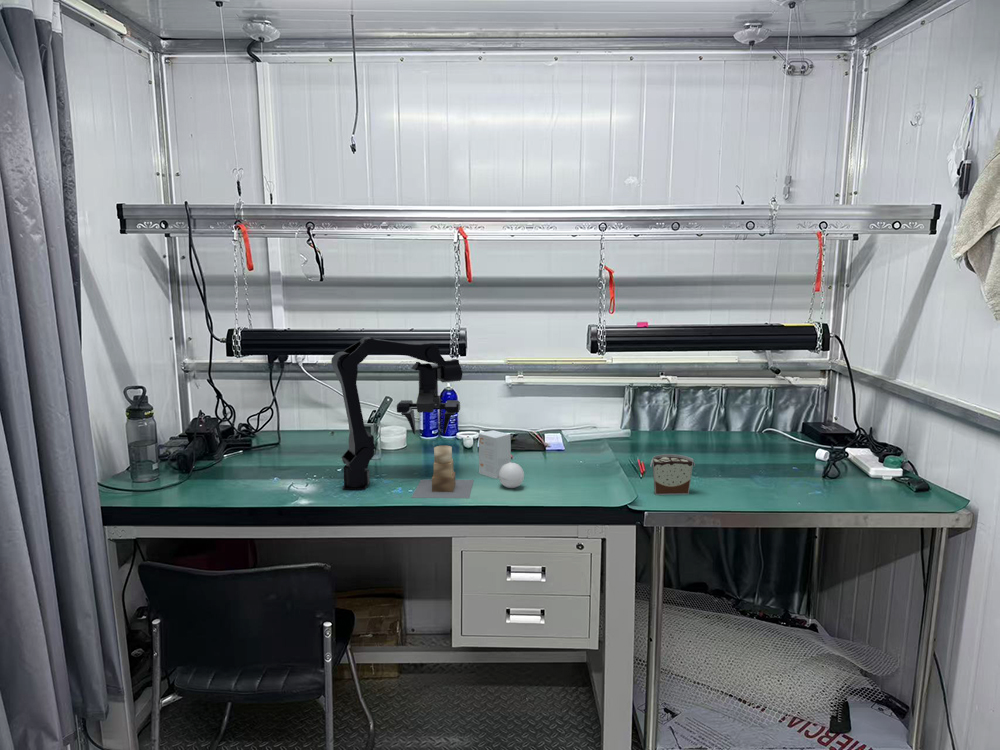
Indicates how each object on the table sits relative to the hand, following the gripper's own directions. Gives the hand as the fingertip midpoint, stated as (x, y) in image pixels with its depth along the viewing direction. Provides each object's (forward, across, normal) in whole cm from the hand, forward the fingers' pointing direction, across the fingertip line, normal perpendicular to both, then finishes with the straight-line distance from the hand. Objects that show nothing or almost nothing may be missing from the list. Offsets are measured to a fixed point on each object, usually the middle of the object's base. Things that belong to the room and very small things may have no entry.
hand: (429, 434), depth 194 cm
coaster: (+13, +6, -14) cm, 20 cm away
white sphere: (+13, +24, -12) cm, 30 cm away
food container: (+13, +70, -14) cm, 73 cm away
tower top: (+8, +6, -14) cm, 17 cm away
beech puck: (+4, +6, -14) cm, 16 cm away
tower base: (+12, +6, -14) cm, 20 cm away
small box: (+13, +20, 0) cm, 24 cm away
